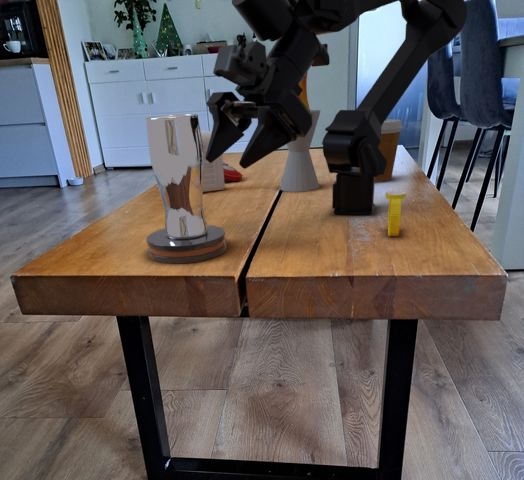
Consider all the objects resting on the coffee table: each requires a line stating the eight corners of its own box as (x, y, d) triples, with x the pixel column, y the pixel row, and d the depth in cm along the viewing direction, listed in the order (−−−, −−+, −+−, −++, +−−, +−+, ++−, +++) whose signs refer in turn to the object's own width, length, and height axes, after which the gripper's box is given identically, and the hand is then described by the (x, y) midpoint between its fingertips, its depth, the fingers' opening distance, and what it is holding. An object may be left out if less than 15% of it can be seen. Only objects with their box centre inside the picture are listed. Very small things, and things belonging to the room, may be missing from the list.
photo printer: (220, 187, 112) (215, 128, 106) (228, 189, 109) (223, 129, 103) (178, 193, 108) (170, 132, 102) (184, 196, 105) (176, 133, 99)
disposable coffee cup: (353, 177, 114) (354, 120, 109) (394, 174, 114) (398, 118, 108) (358, 184, 106) (361, 124, 100) (402, 182, 106) (407, 121, 100)
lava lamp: (309, 182, 112) (308, -6, 95) (327, 188, 104) (329, -14, 87) (272, 186, 109) (264, -5, 92) (288, 193, 102) (283, -14, 85)
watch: (382, 228, 75) (385, 188, 72) (401, 228, 74) (404, 187, 71) (383, 239, 70) (386, 196, 67) (403, 239, 69) (407, 196, 66)
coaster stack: (236, 240, 73) (235, 224, 72) (210, 264, 64) (208, 247, 63) (169, 239, 76) (166, 223, 75) (135, 262, 66) (131, 244, 65)
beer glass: (219, 228, 71) (208, 113, 63) (198, 241, 65) (183, 117, 58) (177, 226, 73) (161, 115, 66) (152, 239, 67) (133, 119, 60)
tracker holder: (251, 174, 118) (214, 169, 112) (246, 192, 120) (210, 188, 115) (228, 158, 126) (193, 152, 120) (224, 175, 128) (189, 170, 122)
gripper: (211, 28, 69) (152, 120, 69) (291, 8, 56) (218, 124, 56) (260, 87, 77) (206, 171, 77) (341, 83, 63) (276, 185, 63)
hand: (223, 163), depth 68 cm, fingers open, 9 cm apart
